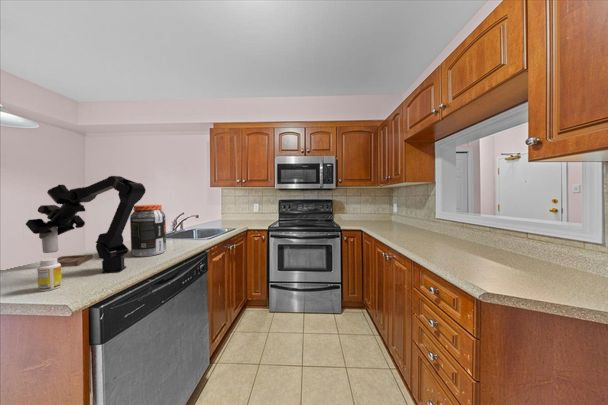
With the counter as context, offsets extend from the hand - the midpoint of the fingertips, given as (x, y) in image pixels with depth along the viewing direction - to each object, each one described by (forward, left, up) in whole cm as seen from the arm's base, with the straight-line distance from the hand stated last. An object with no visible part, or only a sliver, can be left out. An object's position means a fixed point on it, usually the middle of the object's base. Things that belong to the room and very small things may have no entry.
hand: (47, 236), depth 105 cm
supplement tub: (-35, -14, -13) cm, 40 cm away
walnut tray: (-5, -4, -13) cm, 15 cm away
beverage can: (-1, +1, -7) cm, 7 cm away
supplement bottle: (-18, +29, -13) cm, 37 cm away
